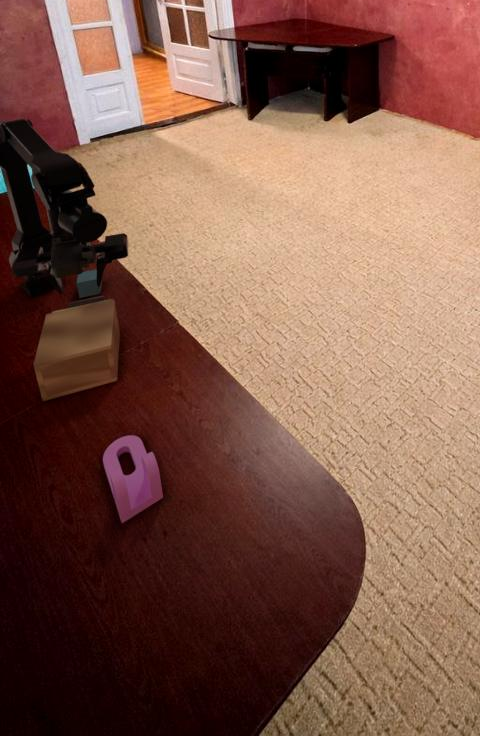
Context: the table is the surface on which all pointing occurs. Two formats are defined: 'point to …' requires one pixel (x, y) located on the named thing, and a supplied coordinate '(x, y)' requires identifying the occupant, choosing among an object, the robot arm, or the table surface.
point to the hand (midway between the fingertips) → (80, 289)
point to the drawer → (84, 303)
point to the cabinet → (78, 350)
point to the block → (88, 284)
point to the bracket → (132, 477)
